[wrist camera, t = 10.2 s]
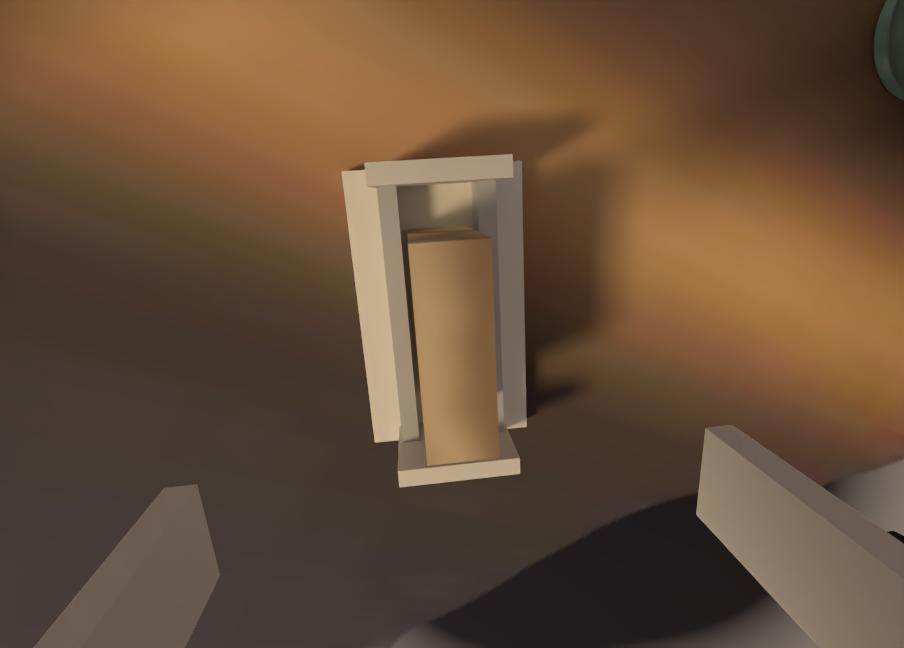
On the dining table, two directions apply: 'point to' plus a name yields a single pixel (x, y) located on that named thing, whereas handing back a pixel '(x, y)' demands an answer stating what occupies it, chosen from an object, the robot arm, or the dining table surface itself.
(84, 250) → the dining table surface
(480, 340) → the door panel
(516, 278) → the track
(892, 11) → the flower pot
